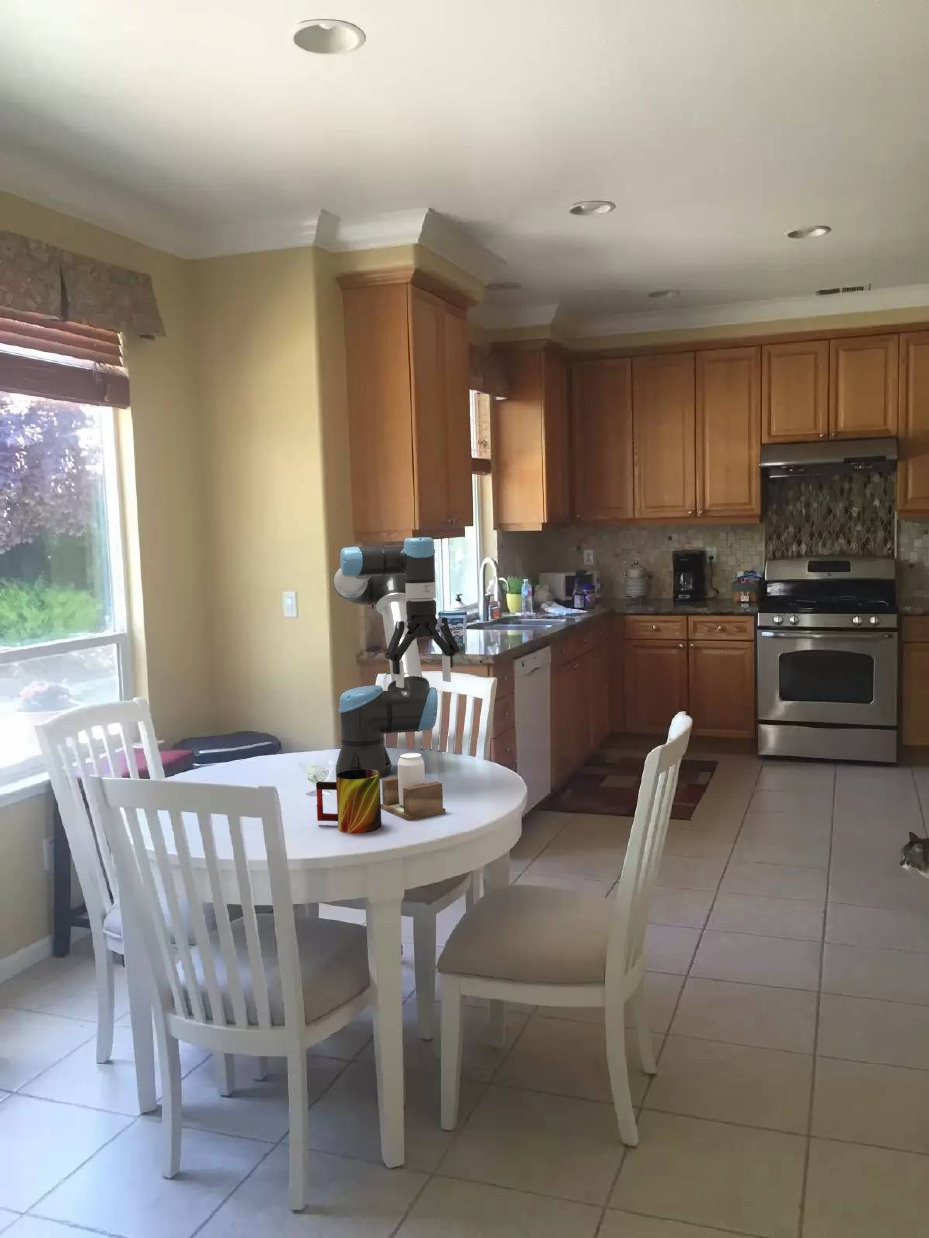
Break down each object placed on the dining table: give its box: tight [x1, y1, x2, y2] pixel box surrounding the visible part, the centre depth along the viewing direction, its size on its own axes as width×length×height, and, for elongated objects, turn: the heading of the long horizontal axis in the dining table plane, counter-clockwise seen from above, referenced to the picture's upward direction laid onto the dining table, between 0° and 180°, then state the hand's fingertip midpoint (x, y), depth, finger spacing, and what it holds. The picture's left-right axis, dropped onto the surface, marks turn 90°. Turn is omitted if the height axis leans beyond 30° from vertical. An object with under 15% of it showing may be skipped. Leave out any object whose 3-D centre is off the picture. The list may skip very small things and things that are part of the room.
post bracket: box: [381, 775, 446, 821], centre depth 239 cm, size 13×10×7 cm
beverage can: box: [397, 752, 426, 806], centre depth 239 cm, size 6×6×12 cm
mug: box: [315, 769, 383, 835], centre depth 227 cm, size 10×14×12 cm
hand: (423, 684), depth 256 cm, fingers open, 13 cm apart
